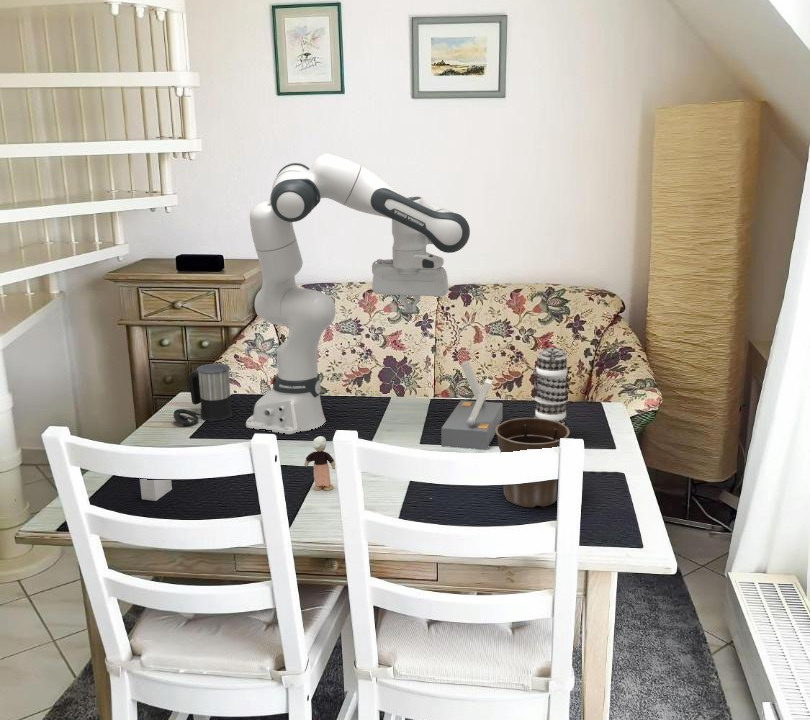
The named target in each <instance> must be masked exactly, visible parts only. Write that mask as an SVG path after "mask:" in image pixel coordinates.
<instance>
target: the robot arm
mask: <svg viewBox="0 0 810 720" xmlns="http://www.w3.org/2000/svg"><path fill="white" fill-rule="evenodd" d="M321 199H329V200H332V201H334V202H336V203H338V204H341V205H343V206H344V207H347V208H350V209H352V210H355V211H358V212H361V213H363V214H370V215H374V216H378V217H384V218H388V219H391V234H392V237H393V245H392V251H391V253H392V258H391V259H382V258H381V259H380V258H379V259H376V260H375V261H374V262H373V263H372V265H371V271H372V272H371V273H372V285H371V286H372V287H371V289H372V292H373V293H374V294H375V295H388V296H390V295H391V296H392V295H393V296H399V300H400V301H401V303H402V305H403V310H404V312H407V313H408V312H409V313H416V312H417V306H418V303H419V301H420V300H421V297H444V296H446V295H447V293H448V292H449V281H448V280H449V279H448V275H447V271H446V269H445V267H443V265H444V263H445V260H444V258H443V257H441V256H438V255H435V254H432V253H429V252H427V246H428V245H434V247H435V248H436V249H438V250H439V251H441V252H443V253H446V254H452V253H456V252H458V251H460V250H462V249H463V248H464V247H465V246H466V244H467V243H468V241H469V238H470V235H471V234H470V233H471V230H470V224H469V222H468V221H467V218H465V217H464V216H463V215H461V214H460V213H457V212H453V211H451V210H449V209H448V208H447V209H446V208H444V207H440V206H437V205H436V204H432V203H431V202H429V201H427V200H425V199H424V198H423V197H421V196H410V197H407V196H405V195H403V194H401V192H399V191H398V190H396V189H395V188H394V187H393V186H392V185H391V184H390V183H389V182H387V181H386V180H385V179H384V178H383V177H381V176H380V174H377V173H376V172H375V171H373V170H371V169H369V168H368V167H366V166H364V165H362V164H360V163H358V162H355V161H353V160H351V159H348V158H345V157H342V156H339V155H335V154H331V153H323V154H321V155H319V156H318V157H317V158H315V160H314V162H313V163H312V164H311V167H308V166H307V165H305V164H304V163H303V164H302V163H300V162H292V163H289V164H287V165H285V166H283V167H282V168H281V169H280V170H279V171H278V173H277V174H276V178H274V181H273V184H272V189H271V194H270V199H268V200H264V201H261V202H258V203H257V204H256V205H254V206H253V207H252V208H251V210H250V213H249V222H250V223H249V225H250V232H251V236H252V241H253V245H254V248H255V249H254V250H255V251H256V252H255V253H256V256H257V259H258V261H259V266H260V271H261V276H262V283H261V288H260V290H259V291H258V292H257V294H256V295H255V299H254V309H255V310H254V311H255V313H256V316H258V318H260V319H261V320H263V321H265V322H268V323H270V324H271V325H276V326H281V327H288V336H287V339H286V341H284V342H283V343H281V344H280V345H279V346H278V348H277V350H276V358H277V360H276V361H277V362H276V363H277V373H276V374H275V376H274V377H272V378H271V380H270V381H269V382H270V383H269V384H270V385H271V386H273V387H272V388H271V389H270V390H269V391H267V392H266V393H265V394H264V395H263V396H262V397H260V398H259V399H258V400H257V401H256V402H255V404H254V408H253V414H252V415H250V417H248V418H247V419H246V422H245V426H246V428H248V429H253V428H254V429H255V430H259V429H266V430H272V432H271V433H278V432H279V433H278V434H283V433H285V434H284V435H294V434H297V433H300V431H301V432H307V431H311V429H313V430H315V428H316V429H319V428H321V427H323V426H324V425H325V424H326V423H327V420H326V417H325V414H324V410H323V407H322V403H321V402H322V401H321V395H320V394H321V381H320V380H321V377H320V374H319V370H318V348H319V343H320V340H321V337H322V334H323V333H324V332H325V330H326V329H328V328H329V327H330V326H331V325H332V323H333V321H334V320H335V316H336V309H337V308H336V304H335V302H334V300H333V298H332V297H331V296H330V295H328V294H326V293H323V292H321V291H318V290H316V289H310V288H300V287H298V286H297V284H296V275H297V274H298V273H299V272H300V271H301V270H302V267H303V264H304V263H303V258H302V254H301V249H300V247H299V244H298V240H297V236H296V233H295V229H294V226H293V225H294V223H295V222H296V223H297V222H299V221H302V220H304V219H305V218H306V217H307V216H308V215H310V213H312V211H313V210H314V209H315V208H316V207H317V205H319V204H320V202H321ZM408 296H413V300H414V301H413V304H412V303H411V304H409V303H408V301H407V298H408ZM325 422H326V423H325ZM324 423H325V424H324ZM323 424H324V425H323ZM322 425H323V426H322ZM320 426H321V427H320ZM318 427H319V428H318ZM254 429H253V430H254ZM296 432H297V433H296Z"/></svg>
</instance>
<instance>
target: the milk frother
mask: <svg viewBox="0 0 810 720" xmlns="http://www.w3.org/2000/svg"><path fill="white" fill-rule="evenodd" d="M230 367H231V366H229V365H228V364H224V363H207V364H203V365H201V366H198V367H197V368H196V369H194V370H192V371H191V372H190V373H189V375H188V376H189V377H188V382H189V391H190V398H191V403H192V404H193V405H198V404H200V413H197V412H194V411H192V410H189V409H185V408H178V409H175V410H174V412H173V418H174V420H175V421H176V422H177V423H179V424H181V425H183V426H191V425H192V426H193V425H195V424H197V423H198V422H199V417H198V416H200V418H201V420H204V421H208V422H210V421H212V422H213V421H214V422H215V421H216V422H217V421H223V420H227V419H229V418H232V416H233V411H232V410H233V409H232V404H231V403H232V402H231V388H230V387H231V386H230ZM187 415H188V416H187ZM190 416H191V417H192V418H193V419H192V420H190V418H191V417H190Z"/></svg>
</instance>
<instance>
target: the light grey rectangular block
mask: <svg viewBox="0 0 810 720" xmlns="http://www.w3.org/2000/svg"><path fill="white" fill-rule="evenodd" d="M139 485H140V494H141V500H146V501H153V502H154V501H155V502H157V501H158V500H159V499H161V498H163V496H165V495H166V494H167V493H169V492H171V490H173V486H172V479H171V480H147V479H140V478H139Z"/></svg>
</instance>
